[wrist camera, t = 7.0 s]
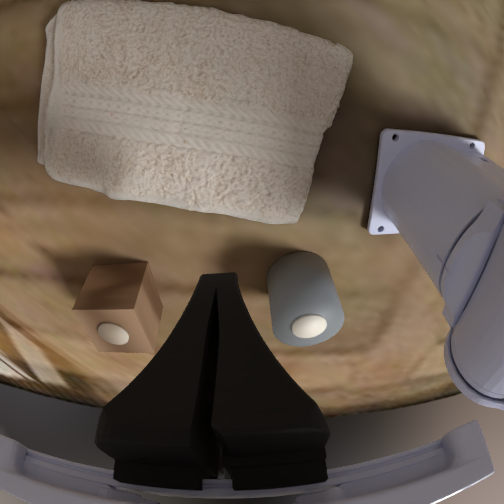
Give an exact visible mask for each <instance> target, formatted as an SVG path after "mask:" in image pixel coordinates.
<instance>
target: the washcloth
mask: <svg viewBox="0 0 504 504" xmlns="http://www.w3.org/2000/svg"><path fill="white" fill-rule="evenodd" d="M45 32H46V38H47V46H46V54H45V64H44V69H43V74H42V84H41V94H40V106H39V115H38V157H37V161H38V163H40V164H43V165H45V167H46V171H47V173H48V174H49V175H50V177H52V178H53V179H55V180H56V181H59V182H64V183H68V184H70V185H77V186H82V187H87V188H91V189H93V190H95V191H99V192H102V193H104V194H106V195H107V196H108V197H109V198H112V199H116V200H135V201H142V202H150V203H158V204H162V205H168V206H172V207H177V208H182V209H187V210H190V211H192V210H195V211H200V212H206V213H219V214H225V215H230V216H234V217H239V218H245V219H247V220H253V221H259V222H264V223H268V224H286V223H296V222H297V221H298V220H299V217H300V214H301V213H302V212H303V210H304V205H305V203H306V201H307V195H308V193H309V191H310V186H311V183H312V175H313V173H314V163H315V159H316V156H317V154H318V152H319V149H320V144H321V142H322V139H323V133H324V132H325V130H326V129H327V128H330V127H331V126H332V121H333V119H334V117H335V114H336V112H337V108H338V107H340V105H339V102H340V99H341V98H342V96H343V93H344V91H345V86H346V81H347V78H348V76H349V74H350V71H351V66H352V63H353V54H352V52H351V51H350V50H349V49H347V47H344V46H343V45H341V44H339V43H337V44H335V43H332V42H331V41H330V40H327V39H323V38H320V37H318V36H314V35H312V34H307V33H305V32H299V31H298V30H296V29H295V28H293V27H289V26H281V25H280V24H278V23H277V22H271V21H265V20H259V19H252V18H248V17H246V16H244V15H242V14H230V13H226V12H224V11H221V10H219V9H216V8H213V7H209V8H206V7H197V6H196V5H195V6H194V7H193V6H189V5H186V4H181V5H176V4H174V3H172V2H147V1H140V0H136V1H134V0H127V1H126V0H76V1H73V0H71V1H67V2H66V3H63V4H62V5H61V6H60V8H59V9H58V12H57V14H56V15H55V16H54V17H53V18H52V19H51V20H50V21H49V23H48V24H47V25H46V28H45Z"/></svg>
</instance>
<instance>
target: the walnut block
mask: <svg viewBox="0 0 504 504" xmlns="http://www.w3.org/2000/svg"><path fill="white" fill-rule="evenodd" d="M162 309H163V305H162V302H161V300H160V297H159V294H158V291H157V288H156V285H155V282H154V279H153V276H152V272H151V269H150V266H149V263H148V262H137V263H123V264H108V265H93V266H92V268H91V270H90V272H89V274H88V276H87V278H86V280H85V282H84V285H83V287H82V289H81V291H80V293H79V296H78V298H77V300H76V302H75V305H74V307H73V309H72V310H73V312H74V314H75V315H76V317H77V319H78V320H79V322H80V324H81V325H82V327H83V329H84V330H85V332H86V333H87V335H88V337H89V338H90V340H91V341H92V343H93V344H94V346H95V347H96V349H97V350H98V351H99V352H125V353H154V352H155V346H156V341H157V335H158V330H159V325H160V319H161V314H162Z"/></svg>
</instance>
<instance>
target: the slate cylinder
mask: <svg viewBox="0 0 504 504" xmlns="http://www.w3.org/2000/svg"><path fill="white" fill-rule="evenodd" d="M267 285H268V294H269V302H270V310H271V319H272V327H273V333H274V335H275V337H276V338H277V339H278V340H279V341H281V342H283V343H285V344H287V345H291V346H310V345H315V344H318V343H321V342H323V341H326V340H327V339H329V338H331V337H332V336H334V335H335V334H336V333H337V332H338V331H339V330H340V329H341V327H342V325H343V323H344V313H343V310H342V307H341V304H340V301H339V298H338V295H337V292H336V289H335V286H334V283H333V280H332V277H331V274H330V271H329V268H328V266H327V263H326V262H325V260H324V259H323V258H321V257H320V256H318V255H317V254H314V253H311V252H294V253H290V254H287V255H285V256H283V257H281V258H279V259H278V260H277V261H275V262H274V263H273V265H272V266H271V267H270V269H269V271H268V274H267Z"/></svg>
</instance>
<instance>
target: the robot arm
mask: <svg viewBox="0 0 504 504" xmlns="http://www.w3.org/2000/svg"><path fill="white" fill-rule="evenodd" d="M394 134H396V138H395V139H394V140H392V136H393V135H394ZM471 143H472V145H471V147H470V144H471ZM484 149H485V144H484V142H483V141H481V140H478V139H472V138H466V137H460V136H453V135H446V134H438V133H430V132H421V131H411V130H401V129H388V128H387V129H384V130H382V132H381V133H380V140H379V149H378V158H377V166H376V174H375V181H374V189H373V195H372V202H371V208H370V214H369V220H368V226H367V230H368V231H369V233H370V234H372V235H378V234H394V233H400V234H401V235H402V237H403V238H404V240H405V241H406V242H407V244H408V245H409V247H410V248H411V250H412V251H413V253H414V254H415V256H416V257H417V258H418V260H419V261H420V263H421V264H422V266H423V267H424V269H425V271H426V272H427V274H428V275H429V277H430V278H431V280H432V281H433V283H434V285H435V286H436V288H437V289H438V291H439V293H440V294H441V296H442V297H443V299H444V302H445V307H444V310H443V315H444V317H445V318H446V320H447V322H448V324H449V326H450V327H451V329H450V331H449V333H448V334H447V337H446V340H445V345H444V359H445V364H446V367H447V370H448V373H449V375H450V377H451V379H452V380H453V382H454V383H455V385H456V386H457V388H458V389H459V390H460V391H461V392H462V393H463V394H464V395H465V396H467V397H468V398H469V399H470V400H472V401H474V402H476V403H478V404H480V405H483V406H487V407H493V408H498V409H501V410H504V169H503V168H502V167H500V166H499V165H497V164H496V163H494V162H493V161H492V160H490V159H489V158H487V157H486V156H484V155H483V154H484ZM380 226H382V227H381V228H380V229H378V228H379V227H380ZM329 438H330V431H329V428H328V425H327V422H326V420H325V418H324V416H323V414H322V412H321V410H320V409H319V407H318V405H317V403H316V402H315V401H314V400H313V399H312V398H311V397H310V396H308V395H307V394H306V393H305V392H304V391H303V390H302V389H301V387H300V386H299V385H298V384H297V383H296V382H295V381H294V380H293V379H292V378H291V377H290V375H289V374H288V373H287V372H286V370H285V369H284V368H283V367H282V365H281V364H280V363H279V362H278V360H277V359H276V358H275V356H274V355H273V354H272V352H271V351H270V349H269V348H268V346H267V345H266V343H265V342H264V340H263V339H262V337H261V335H260V333H259V332H258V330H257V328H256V326H255V324H254V323H253V321H252V319H251V317H250V315H249V312H248V310H247V308H246V305H245V303H244V301H243V298H242V295H241V292H240V289H239V285H238V279H237V274H236V273H234V272H232V273H217V274H203V275H202V276H201V277H200V279H199V281H198V284H197V286H196V288H195V291H194V293H193V295H192V297H191V299H190V301H189V303H188V305H187V307H186V309H185V311H184V312H183V314H182V316H181V318H180V319H179V321H178V323H177V324H176V326H175V328H174V329H173V331H172V333H171V334H170V336H169V337H168V339H167V340H166V341H165V343H164V344H163V346H162V347H161V348H160V350H159V351H158V352H157V354H156V355H155V356H154V357H153V359H152V360H151V361H150V362H149V364H148V365H147V366H146V367H145V368H144V369H143V370H142V371H141V373H140V374H139V375H138V376H137V377H136V378H135V379H134V380H133V381H132V382H131V383H130V384H129V385H128V386H127V387H126V388H125V389H124V390H123V391H121V392H120V393H119V394H118V395H117V396H116V397H114V398H113V399H112V400H111V401H110V402H109V403H107V404H106V405H105V406H104V407H103V409H102V412H101V415H100V418H99V421H98V426H97V431H96V436H95V444H96V446H97V447H98V448H99V449H100V450H102V451H103V452H104V453H106V454H107V455H109V456H110V457H112V458H114V459H115V465H114V470H109V469H103V468H98V467H93V466H89V465H84V464H79V463H76V462H71V461H67V460H63V459H60V458H56V457H53V456H49V455H46V454H43V453H39V452H36V451H33V450H30V449H27V448H26V447H25V446H24V445H22V444H21V443H19V442H17V441H15V440H13V439H10V438H8V437H5V436H3V435H0V489H1V490H3V491H5V492H7V493H9V494H11V495H13V496H14V497H17V498H19V499H21V500H23V501H25V502H27V503H29V504H160V503H159V502H155V501H152V500H148V499H146V498H143V497H142V496H140V495H137V494H132V493H128V492H124V491H119V490H116V489H121V490H126V491H133V492H139V493H147V494H155V495H165V496H175V497H189V498H256V497H270V496H281V495H291V494H299V493H306V492H313V491H318V492H313V493H309V494H305V495H300V496H297V498H296V502H294V504H435V503H437V502H440V501H441V500H444V499H446V498H448V497H450V496H452V495H454V494H456V493H458V492H460V491H462V490H464V489H466V488H468V487H470V486H472V485H474V484H476V483H477V482H479V481H481V480H483V479H485V478H486V477H488V476H490V475H492V474H493V473H494V467H493V464H492V461H491V458H490V455H489V451H488V448H487V445H486V442H485V439H484V436H483V434H482V431H481V428H480V425H479V423H478V420H474V421H472V422H469V423H467V424H465V425H462V426H460V427H457V428H455V429H453V430H451V431H450V432H448V433H447V434H445V435H444V436H443V437H442V439H439V440H436V441H434V442H431V443H428V444H425V445H423V446H419V447H417V448H413V449H411V450H407V451H404V452H401V453H397V454H394V455H390V456H387V457H383V458H379V459H376V460H372V461H368V462H363V463H359V464H355V465H350V466H345V467H340V468H335V469H330V470H327V468H326V462H325V459H326V452H325V445H326V443H327V441H328V440H329ZM224 468H226V470H227V471H228V473H229V475H230V476H231V479H223V478H224V477H225V473H224ZM336 487H337V488H336ZM325 489H326V490H325ZM320 490H322V491H320Z"/></svg>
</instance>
